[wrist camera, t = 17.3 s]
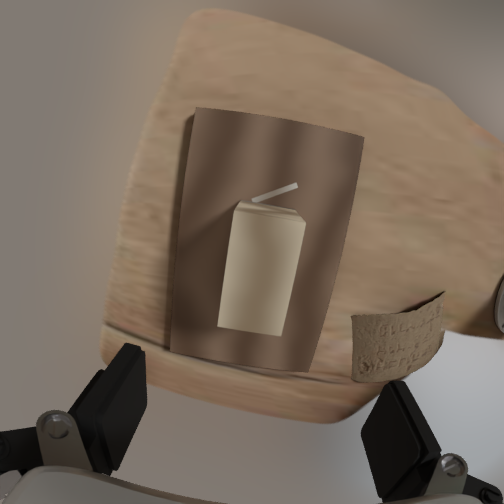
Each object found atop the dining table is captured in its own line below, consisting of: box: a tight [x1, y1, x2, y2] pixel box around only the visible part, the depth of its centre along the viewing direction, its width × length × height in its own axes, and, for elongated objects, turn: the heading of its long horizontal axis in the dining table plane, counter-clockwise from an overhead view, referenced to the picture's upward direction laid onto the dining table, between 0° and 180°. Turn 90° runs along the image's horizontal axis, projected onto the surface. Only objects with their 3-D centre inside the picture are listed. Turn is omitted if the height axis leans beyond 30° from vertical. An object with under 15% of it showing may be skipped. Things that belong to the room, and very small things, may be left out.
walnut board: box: [170, 107, 364, 373], centre depth 30 cm, size 16×26×2 cm, turn 171°
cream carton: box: [217, 200, 306, 336], centre depth 26 cm, size 5×9×8 cm, turn 171°
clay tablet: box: [351, 291, 446, 382], centre depth 32 cm, size 14×10×3 cm
